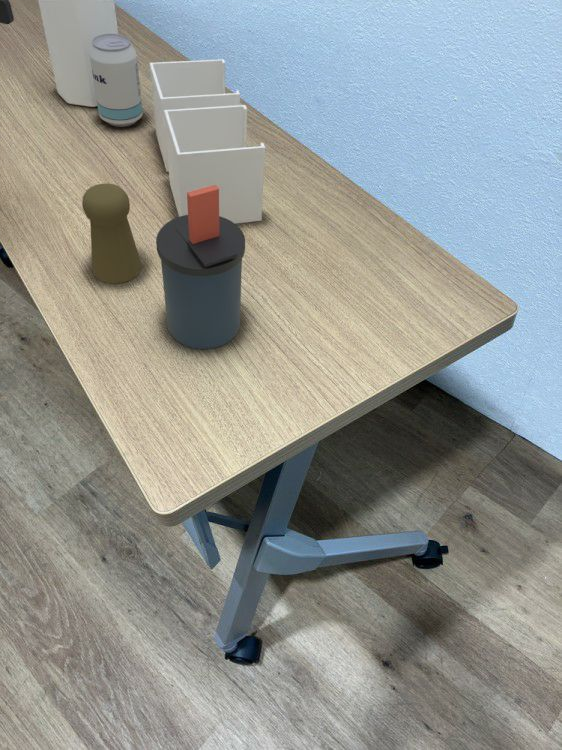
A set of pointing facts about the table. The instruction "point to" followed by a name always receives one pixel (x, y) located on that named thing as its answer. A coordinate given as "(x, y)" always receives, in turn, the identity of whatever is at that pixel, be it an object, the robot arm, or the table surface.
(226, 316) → the travel cup
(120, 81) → the beverage can
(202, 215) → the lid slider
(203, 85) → the storage container
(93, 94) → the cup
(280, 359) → the table surface
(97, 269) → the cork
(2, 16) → the robot arm
